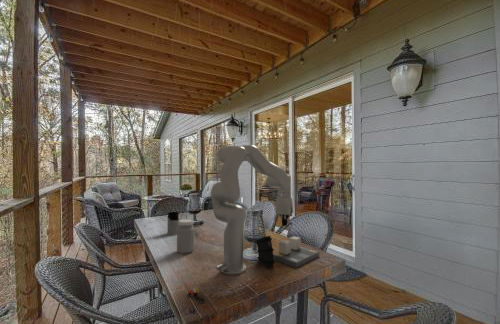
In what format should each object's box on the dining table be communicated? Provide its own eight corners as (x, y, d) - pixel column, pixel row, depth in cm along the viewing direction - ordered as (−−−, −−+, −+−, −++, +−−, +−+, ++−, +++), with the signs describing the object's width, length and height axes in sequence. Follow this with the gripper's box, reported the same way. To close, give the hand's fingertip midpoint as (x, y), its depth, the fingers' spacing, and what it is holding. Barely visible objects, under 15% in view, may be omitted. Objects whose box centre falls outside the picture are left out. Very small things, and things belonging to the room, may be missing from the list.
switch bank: (296, 267, 124) (296, 262, 124) (273, 259, 134) (273, 254, 134) (319, 256, 139) (319, 251, 139) (296, 249, 150) (296, 245, 150)
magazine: (271, 268, 119) (264, 236, 124) (259, 270, 129) (253, 241, 135) (277, 267, 120) (271, 235, 126) (265, 269, 131) (260, 240, 137)
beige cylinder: (296, 250, 140) (296, 239, 140) (289, 248, 144) (289, 237, 144) (300, 248, 144) (300, 237, 144) (294, 246, 147) (294, 236, 147)
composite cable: (206, 303, 92) (206, 296, 92) (193, 307, 90) (193, 300, 90) (197, 291, 101) (197, 285, 101) (185, 294, 98) (185, 288, 98)
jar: (189, 255, 140) (190, 223, 140) (173, 253, 141) (174, 222, 142) (196, 249, 149) (197, 219, 149) (181, 247, 151) (182, 218, 151)
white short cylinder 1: (285, 254, 133) (285, 243, 133) (278, 252, 136) (279, 241, 136) (290, 252, 136) (290, 241, 136) (284, 250, 140) (284, 239, 140)
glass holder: (166, 232, 184) (166, 212, 184) (185, 230, 190) (185, 210, 190) (167, 235, 176) (167, 214, 176) (187, 233, 182) (188, 213, 182)
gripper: (270, 194, 152) (271, 224, 152) (290, 196, 142) (291, 228, 142) (278, 193, 157) (278, 222, 158) (298, 195, 147) (298, 226, 147)
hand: (284, 225), depth 150 cm, fingers closed
